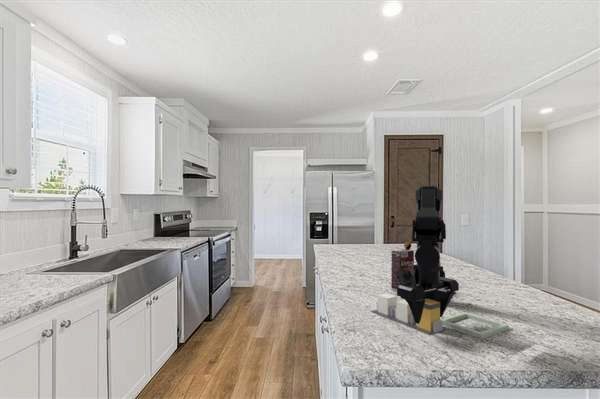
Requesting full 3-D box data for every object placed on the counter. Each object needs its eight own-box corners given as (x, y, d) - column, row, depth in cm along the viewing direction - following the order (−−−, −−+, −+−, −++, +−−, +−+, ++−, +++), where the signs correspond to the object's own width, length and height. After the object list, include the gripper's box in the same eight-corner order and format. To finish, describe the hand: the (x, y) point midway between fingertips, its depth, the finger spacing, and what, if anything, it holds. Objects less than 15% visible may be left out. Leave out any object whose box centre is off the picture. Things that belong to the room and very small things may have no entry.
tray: (464, 320, 99) (464, 311, 99) (508, 334, 88) (508, 324, 88) (438, 328, 92) (438, 319, 92) (482, 344, 82) (482, 334, 82)
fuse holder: (388, 311, 107) (388, 299, 107) (449, 334, 88) (449, 319, 88) (369, 316, 103) (369, 303, 103) (430, 341, 84) (430, 325, 84)
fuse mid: (406, 316, 98) (405, 299, 98) (417, 320, 95) (416, 302, 95) (396, 318, 96) (396, 301, 96) (407, 322, 93) (407, 305, 93)
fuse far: (387, 309, 105) (387, 293, 105) (396, 312, 101) (396, 296, 101) (378, 311, 103) (377, 295, 103) (387, 315, 99) (387, 298, 99)
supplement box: (400, 292, 129) (400, 252, 129) (390, 290, 133) (390, 250, 133) (414, 289, 134) (414, 250, 134) (405, 287, 138) (404, 248, 138)
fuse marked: (427, 323, 92) (427, 298, 92) (440, 328, 88) (440, 302, 88) (417, 326, 90) (417, 300, 90) (430, 331, 86) (430, 304, 86)
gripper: (425, 254, 101) (426, 306, 101) (381, 260, 91) (381, 317, 91) (459, 260, 92) (460, 316, 91) (414, 267, 82) (414, 330, 82)
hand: (428, 319), depth 89 cm, fingers open, 9 cm apart
